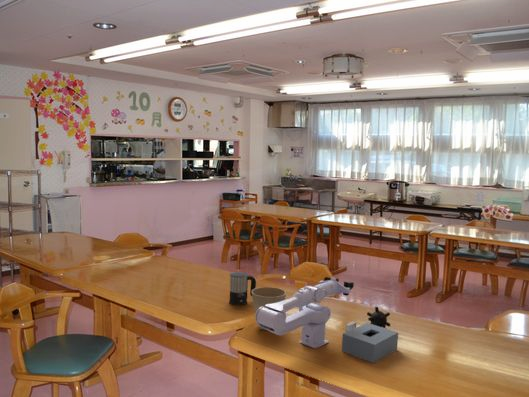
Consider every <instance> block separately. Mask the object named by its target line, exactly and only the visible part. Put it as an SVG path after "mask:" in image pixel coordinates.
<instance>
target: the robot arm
mask: <svg viewBox="0 0 529 397" xmlns="http://www.w3.org/2000/svg"><path fill="white" fill-rule="evenodd" d="M354 287H355V286H354V282H351V281H349V282H348V281H343V284H341V283H340V282H339V278H336V277H333V276H332V277H331V278H330V277H327V276H325V277H324V279H323V280H320V281H318V284H316V285H313V286H312V285H305V286H304V287H303V288H304V289H303V290H300V289H299V290H298V291H297V292H295V293H294V294H293V295H292V296H291V297H290V298H287V299H285V300H283V301H280V302H277V303H272V304H266V305H265V306H266V307H263V306H262V307H260V308H258V310H257V311H256V314H254V320H255V323H256V324H257V325H258V327H259V326H260V327H262V328H265V329H266V330H265V331H267V332H270V333H272V334H274V335H277V336H283V335H286V334H288V333H290V332H292V331H295V330H297V329H299V328H301V327H302V328H301V340H300V341H299V344H303V345H305V346H308V347H310V348H312V349H317V348H319V347H322V346H324V345H326V344H328V343H330V340H327V339H326V338H325V337H326V323H328V321H329V320H330V319H331V314H332V313H331V309H330V308H329V307H328V306H324V305H320V303H322V301H323V300H324V299H325V298H328V297H330V296H331V297H332V296H333V295H335V296H336V295H340V294H342V295H343V296H347V297H348V296H349V295H350V293H351V290H352V289H353V288H354ZM312 302H313V303H312ZM317 303H318V304H317ZM301 307H302V310H301V311H300V312H299V311H297V312H295V313H293V314H290V315H288V316H287V312H289V311H290V310H292V309H294V308H298V309H299V308H301ZM260 327H259V328H260Z"/></svg>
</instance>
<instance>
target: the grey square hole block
mask: <svg viewBox="0 0 529 397" xmlns="http://www.w3.org/2000/svg"><path fill="white" fill-rule="evenodd" d="M370 323H371V322H370ZM370 323H369V322H365V323H363V324H361V325H359V326H356V328H354V329H352V330H350V331H347V332H346V331H345V332H343V333H342V340H341V343H342V344H341V352H343V353H345V354H347V355H351V356H353V357H356V358H359V359H362V360H364V361H366V362H370V363H372V364H374V363H376V362H379V361H380V360H381V359H383V358H386V357H387V356H388V355H390V354H392V353H394V352H396V351H397V350H398V344H399V343H398V340H399V332H397V331H395V330H391V329H388V328H386V327H385V328H383V327H379V326H376V325H373V324H370Z"/></svg>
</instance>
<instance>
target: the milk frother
mask: <svg viewBox="0 0 529 397" xmlns="http://www.w3.org/2000/svg"><path fill="white" fill-rule="evenodd" d="M248 281H250V290H249V291H250V293H249V294H250V296H251V297H252V290H253V289H256V288H257V280H256V278H255V277H254V276H253V275H249V273H247V272H245V271H244V272H243V271H233V272H231V273H229V284H230V285H229V299H228V303H229V304H231V305H233V306H234V305H235V306H243V305H246V304H247V303H248V300H247V299H248Z"/></svg>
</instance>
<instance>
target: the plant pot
mask: <svg viewBox="0 0 529 397" xmlns="http://www.w3.org/2000/svg"><path fill="white" fill-rule="evenodd" d="M286 294H287V292H286V290H285V289H283V288H280V287H274V286H263V287H256V288H255V289H253V290H252V296H251V299H252V304H253V310H254V313H255V314H256V311H257V310H258V308H260V307H262V306H263V307H266V306H265V305H266V304H272V303H277V302H280V301H283V300H286ZM255 314H254V315H255ZM258 327H259V329H261V330H263V331H267V330H266V329H265V328H262V327H260V326H259V325H258Z"/></svg>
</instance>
